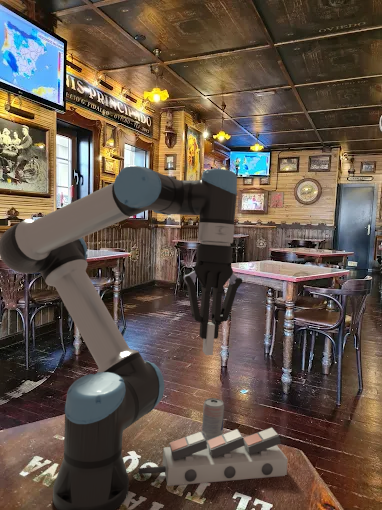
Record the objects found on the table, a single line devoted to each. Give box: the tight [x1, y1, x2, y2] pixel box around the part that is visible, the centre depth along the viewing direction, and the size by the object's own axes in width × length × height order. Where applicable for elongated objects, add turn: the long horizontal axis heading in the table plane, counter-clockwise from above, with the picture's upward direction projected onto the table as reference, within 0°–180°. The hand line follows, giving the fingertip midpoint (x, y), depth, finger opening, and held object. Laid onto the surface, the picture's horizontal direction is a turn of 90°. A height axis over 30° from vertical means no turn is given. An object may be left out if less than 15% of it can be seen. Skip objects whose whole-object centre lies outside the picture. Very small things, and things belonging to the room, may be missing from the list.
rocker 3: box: [243, 426, 282, 455], centre depth 89 cm, size 8×4×2 cm, turn 103°
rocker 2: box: [207, 428, 245, 458], centre depth 87 cm, size 8×4×2 cm, turn 103°
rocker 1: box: [168, 430, 207, 460], centre depth 85 cm, size 8×4×2 cm, turn 103°
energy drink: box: [201, 397, 225, 444], centre depth 96 cm, size 5×5×12 cm
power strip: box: [138, 445, 288, 487], centre depth 87 cm, size 34×8×5 cm, turn 102°
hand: (207, 353), depth 80 cm, fingers closed
